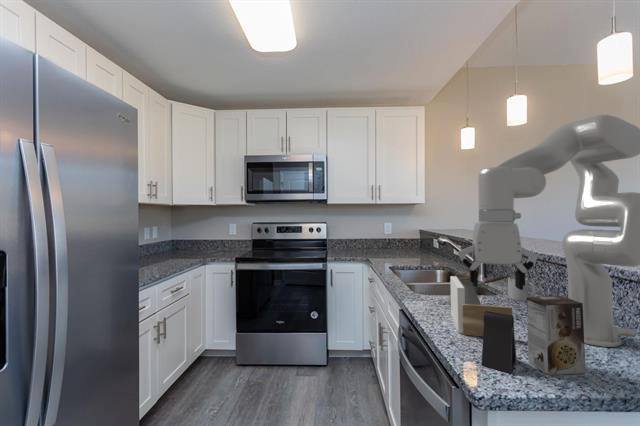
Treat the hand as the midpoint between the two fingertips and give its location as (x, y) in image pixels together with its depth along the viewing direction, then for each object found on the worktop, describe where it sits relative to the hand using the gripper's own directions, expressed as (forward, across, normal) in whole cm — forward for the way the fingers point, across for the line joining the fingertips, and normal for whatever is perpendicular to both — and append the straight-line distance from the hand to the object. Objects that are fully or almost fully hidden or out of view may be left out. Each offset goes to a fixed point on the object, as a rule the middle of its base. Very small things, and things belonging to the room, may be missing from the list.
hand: (496, 287), depth 73 cm
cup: (+18, -25, -64) cm, 70 cm away
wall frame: (+18, +5, -26) cm, 33 cm away
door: (+18, -1, -16) cm, 24 cm away
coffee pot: (+18, -4, -40) cm, 45 cm away
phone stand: (+19, -1, 0) cm, 19 cm away
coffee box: (+19, -12, -1) cm, 22 cm away
